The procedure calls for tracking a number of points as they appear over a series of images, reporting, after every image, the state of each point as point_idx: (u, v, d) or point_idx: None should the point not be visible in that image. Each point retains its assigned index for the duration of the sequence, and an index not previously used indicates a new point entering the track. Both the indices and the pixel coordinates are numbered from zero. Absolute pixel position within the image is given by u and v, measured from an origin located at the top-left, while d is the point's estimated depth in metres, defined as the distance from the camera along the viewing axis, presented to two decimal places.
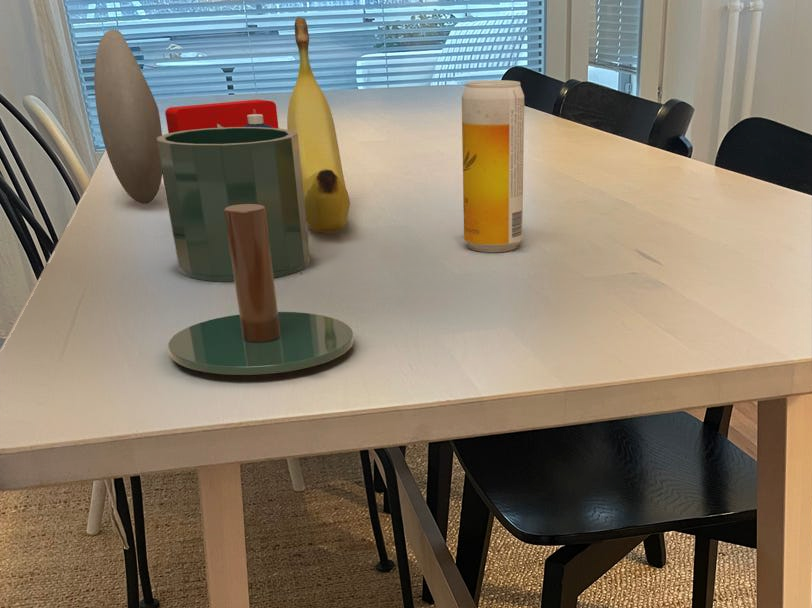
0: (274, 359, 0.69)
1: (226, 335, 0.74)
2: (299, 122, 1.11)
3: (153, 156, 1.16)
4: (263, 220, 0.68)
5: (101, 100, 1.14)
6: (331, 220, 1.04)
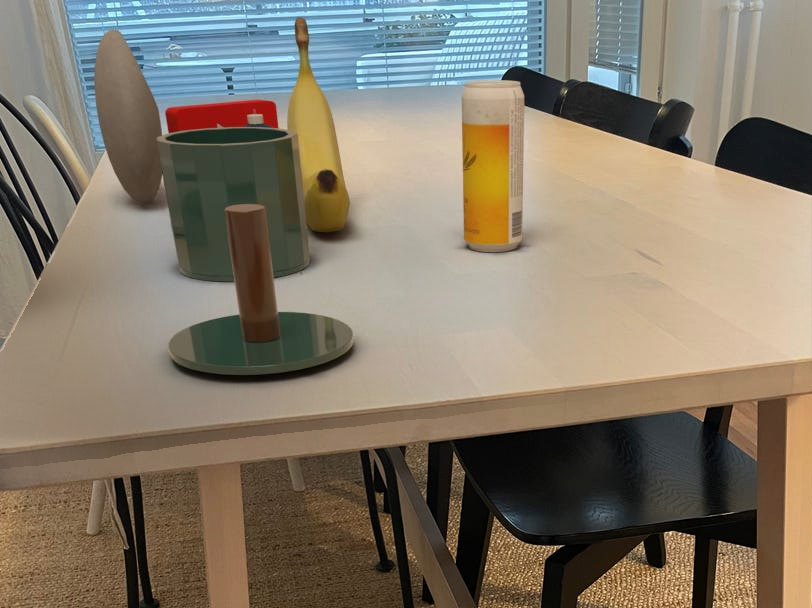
0: (274, 359, 0.69)
1: (226, 335, 0.74)
2: (299, 122, 1.11)
3: (153, 156, 1.16)
4: (263, 220, 0.68)
5: (101, 100, 1.14)
6: (331, 220, 1.04)
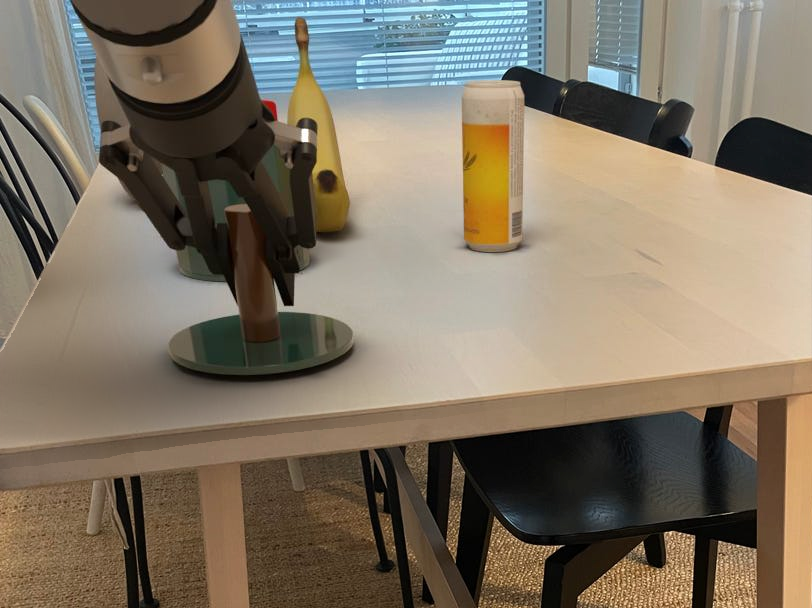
0: (274, 359, 0.69)
1: (226, 335, 0.74)
2: None
3: None
4: None
5: (101, 100, 1.14)
6: (331, 220, 1.04)
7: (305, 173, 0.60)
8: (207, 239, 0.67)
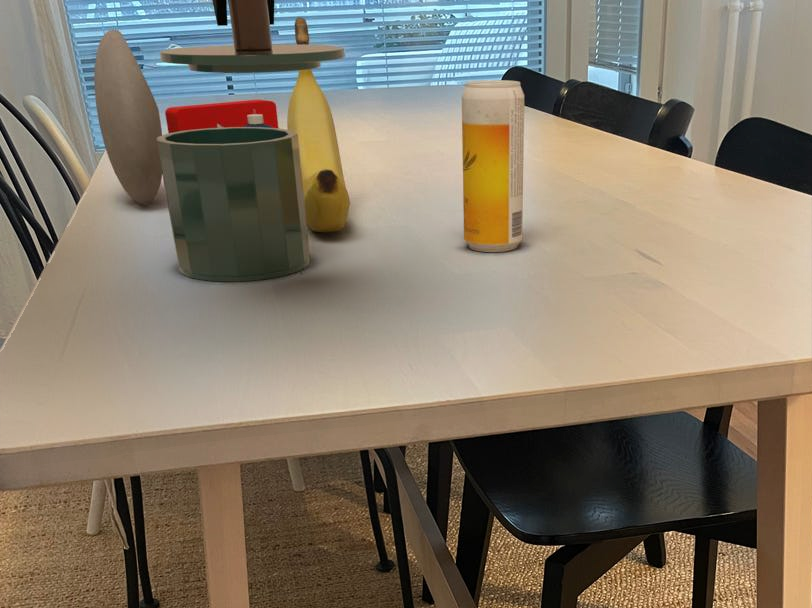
0: (288, 52, 0.70)
1: None
2: (299, 122, 1.11)
3: (153, 156, 1.16)
4: None
5: (101, 100, 1.14)
6: (331, 220, 1.04)
7: None
8: None
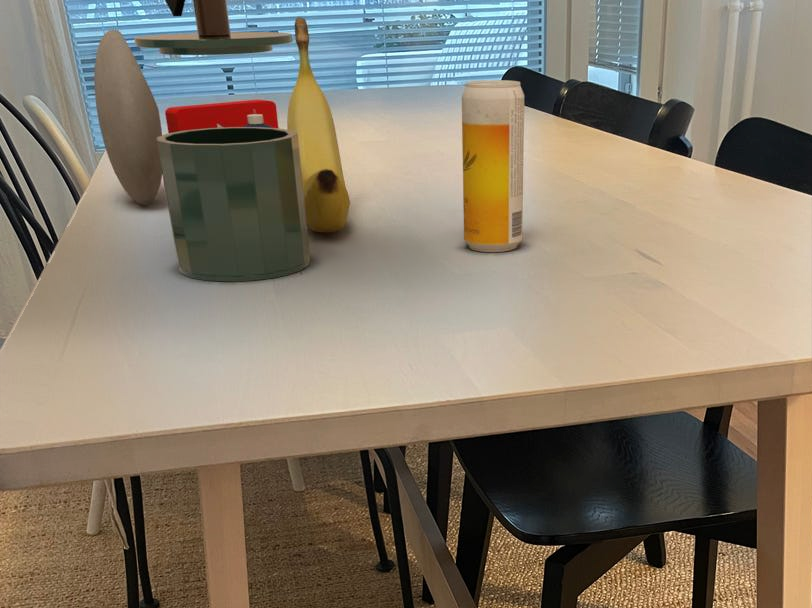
0: (263, 36, 0.84)
1: None
2: (299, 122, 1.11)
3: (153, 156, 1.16)
4: None
5: (101, 100, 1.14)
6: (331, 220, 1.04)
7: None
8: None
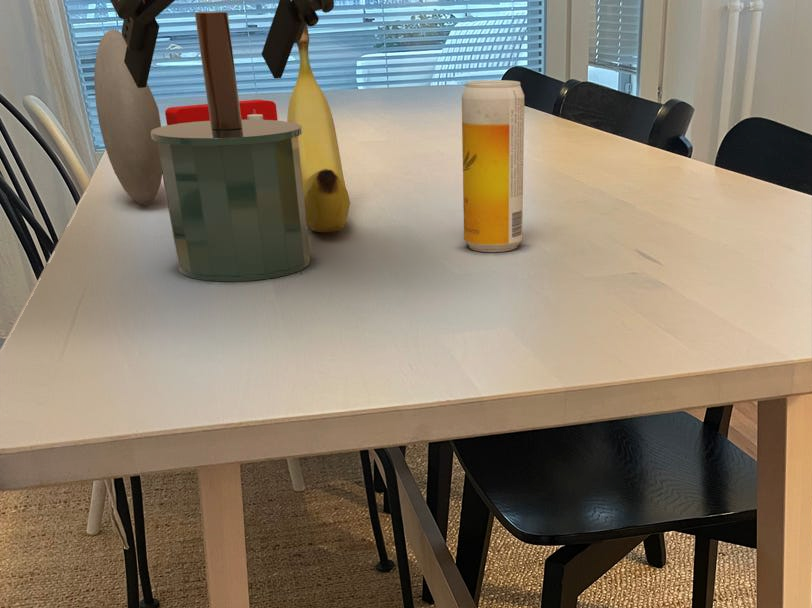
0: (274, 131, 0.88)
1: (197, 130, 0.89)
2: (299, 122, 1.11)
3: (153, 156, 1.16)
4: (228, 22, 0.86)
5: (101, 100, 1.14)
6: (331, 220, 1.04)
7: None
8: (159, 10, 0.79)
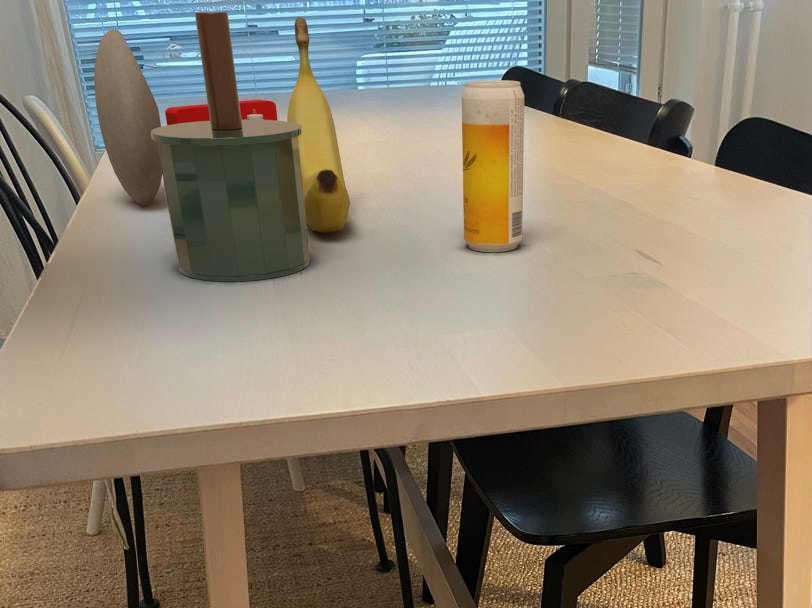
0: (274, 131, 0.88)
1: (197, 130, 0.89)
2: (299, 122, 1.11)
3: (153, 156, 1.16)
4: (228, 22, 0.86)
5: (101, 100, 1.14)
6: (331, 220, 1.04)
7: None
8: None
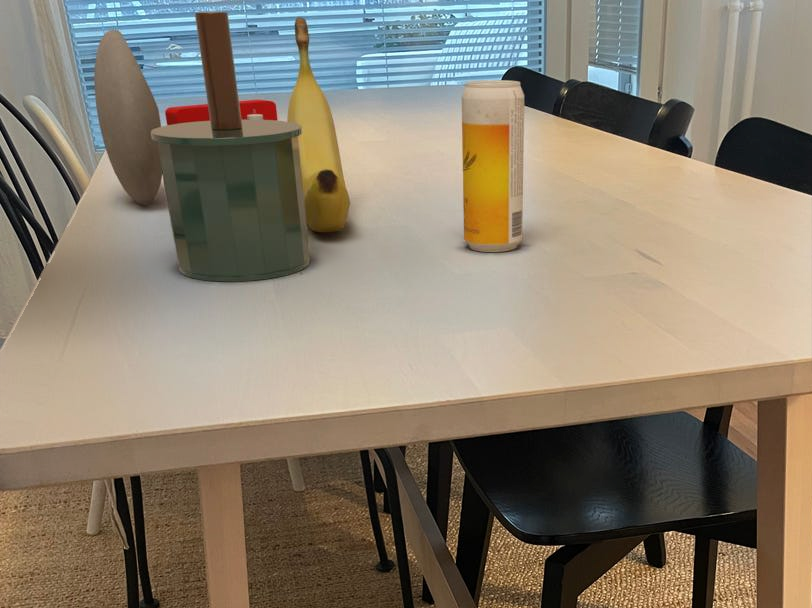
0: (274, 131, 0.88)
1: (197, 130, 0.89)
2: (299, 122, 1.11)
3: (153, 156, 1.16)
4: (228, 22, 0.86)
5: (101, 100, 1.14)
6: (331, 220, 1.04)
7: None
8: None
